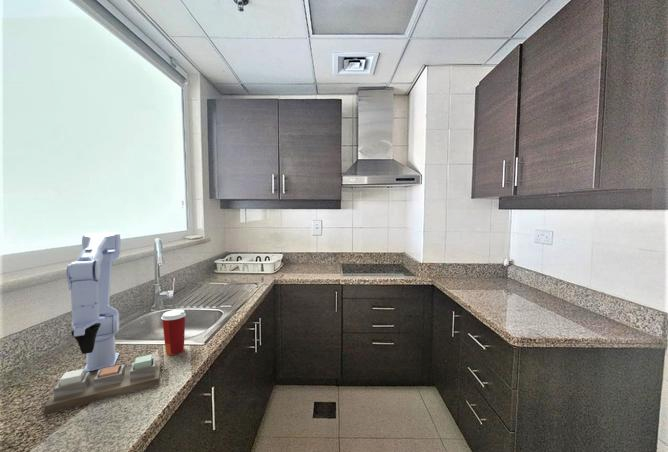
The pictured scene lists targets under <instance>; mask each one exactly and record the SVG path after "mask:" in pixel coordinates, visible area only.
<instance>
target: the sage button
mask: <svg viewBox="0 0 668 452" xmlns="http://www.w3.org/2000/svg"><path fill="white" fill-rule="evenodd" d="M152 358H153V354H147V355H142V356H138V357H135V359H134V362H135V364H134V365H135V370H136V369H141V368H145V367H149V366H152Z"/></svg>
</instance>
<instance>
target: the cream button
mask: <svg viewBox="0 0 668 452" xmlns="http://www.w3.org/2000/svg"><path fill="white" fill-rule="evenodd" d="M84 373H85V372H84V368H80V369H76V370H70V371H65V372H64V373H63V375H62V376H61V378H60V379H59V381H60V386H65V385H69V384H74V383H78V382H82V380H83V379H84V377H85V376H84Z"/></svg>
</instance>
